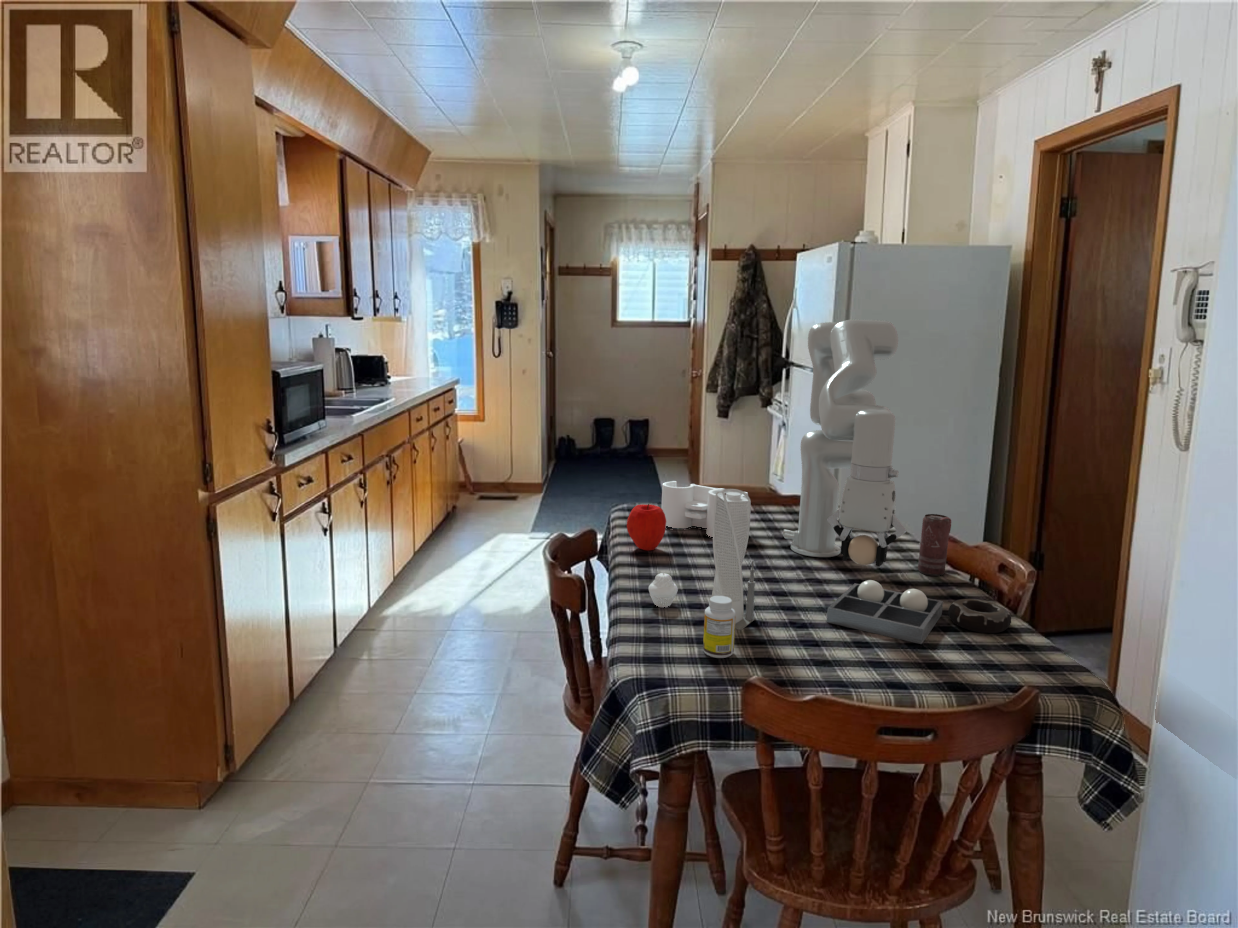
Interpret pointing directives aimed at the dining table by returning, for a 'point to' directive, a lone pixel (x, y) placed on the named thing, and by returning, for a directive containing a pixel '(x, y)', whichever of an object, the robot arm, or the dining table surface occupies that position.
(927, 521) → the can
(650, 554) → the dining table surface
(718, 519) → the skyscraper
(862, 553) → the brown egg
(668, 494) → the bracket
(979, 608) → the donut
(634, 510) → the apple
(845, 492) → the robot arm
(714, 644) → the supplement bottle
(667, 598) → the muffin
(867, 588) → the egg left
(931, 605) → the grey shallow tray
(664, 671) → the dining table surface
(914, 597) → the white ball
